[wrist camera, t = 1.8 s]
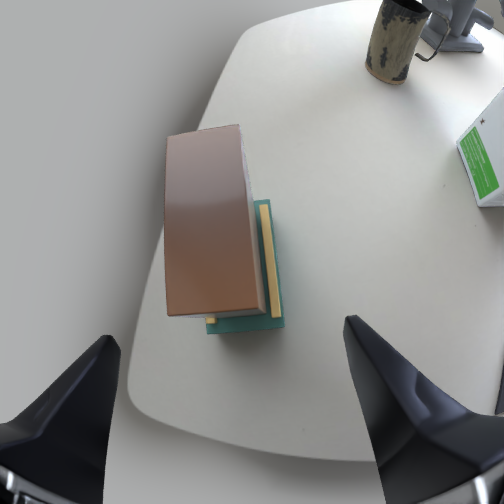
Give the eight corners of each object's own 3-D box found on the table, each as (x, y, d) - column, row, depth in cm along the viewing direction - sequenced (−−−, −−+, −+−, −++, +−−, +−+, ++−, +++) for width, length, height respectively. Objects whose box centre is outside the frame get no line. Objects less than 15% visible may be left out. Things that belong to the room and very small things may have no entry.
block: (266, 314, 18) (259, 309, 9) (221, 318, 18) (166, 316, 9) (255, 213, 20) (239, 123, 10) (213, 218, 20) (166, 136, 10)
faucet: (467, 83, 26) (519, -8, 6) (400, 22, 30) (424, -66, 10) (508, 79, 26) (549, 15, 7) (454, 26, 30) (480, -39, 11)
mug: (355, 63, 27) (373, -15, 15) (377, 52, 27) (397, -17, 16) (407, 101, 25) (444, 25, 14) (426, 87, 26) (459, 19, 14)
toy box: (283, 325, 21) (285, 327, 17) (215, 332, 21) (204, 335, 18) (270, 213, 23) (269, 194, 19) (207, 221, 23) (195, 203, 20)
